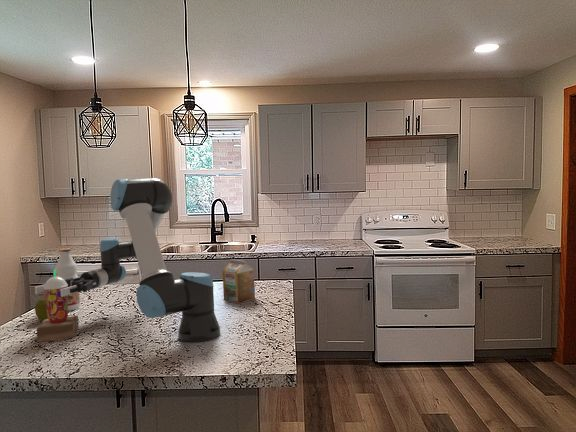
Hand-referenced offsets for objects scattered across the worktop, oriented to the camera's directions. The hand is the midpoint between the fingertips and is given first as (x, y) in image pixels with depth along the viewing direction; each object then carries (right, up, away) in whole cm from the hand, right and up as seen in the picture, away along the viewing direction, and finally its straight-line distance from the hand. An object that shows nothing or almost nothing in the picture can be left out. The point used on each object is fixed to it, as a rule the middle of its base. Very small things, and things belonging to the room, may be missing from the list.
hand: (48, 291), depth 166 cm
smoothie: (+2, -12, +4) cm, 13 cm away
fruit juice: (-12, -15, +41) cm, 45 cm away
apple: (-12, -16, +23) cm, 31 cm away
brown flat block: (+2, -17, +4) cm, 18 cm away
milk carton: (+66, -12, +47) cm, 82 cm away
